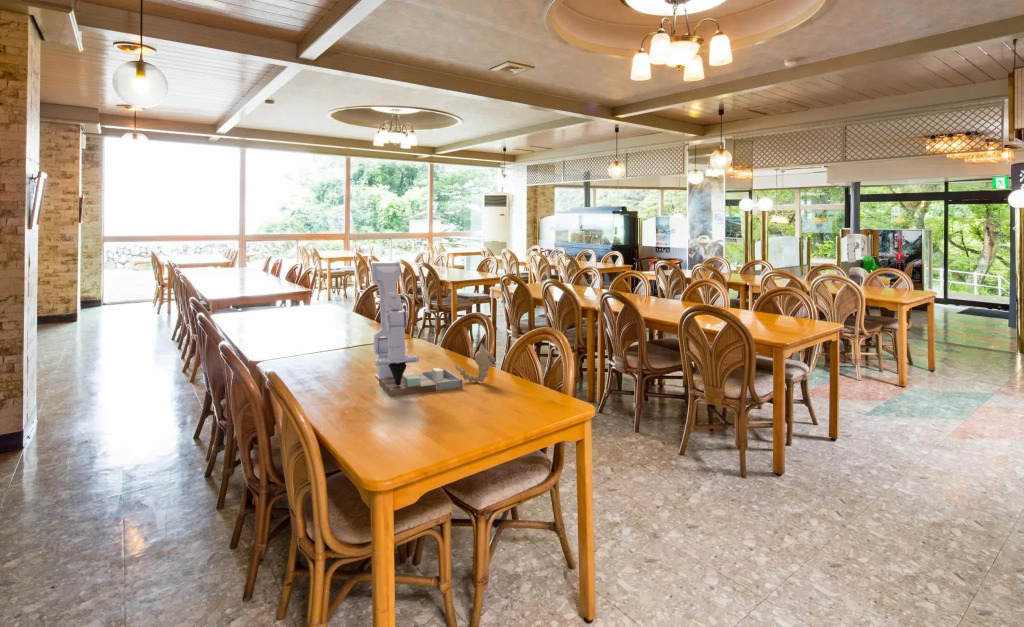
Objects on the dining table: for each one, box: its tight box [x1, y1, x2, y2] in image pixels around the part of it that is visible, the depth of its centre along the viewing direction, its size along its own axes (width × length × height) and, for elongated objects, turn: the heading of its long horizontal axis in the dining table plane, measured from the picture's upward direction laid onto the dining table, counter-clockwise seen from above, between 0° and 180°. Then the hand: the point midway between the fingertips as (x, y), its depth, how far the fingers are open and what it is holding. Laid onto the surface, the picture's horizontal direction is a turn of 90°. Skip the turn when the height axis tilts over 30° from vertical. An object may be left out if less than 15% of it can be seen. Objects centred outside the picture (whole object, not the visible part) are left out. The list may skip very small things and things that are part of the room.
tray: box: [422, 368, 463, 392], centre depth 212 cm, size 17×9×3 cm, turn 26°
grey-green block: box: [403, 374, 421, 387], centre depth 202 cm, size 4×4×3 cm
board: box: [378, 373, 437, 398], centre depth 207 cm, size 17×16×2 cm
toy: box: [455, 342, 496, 384], centre depth 213 cm, size 6×15×15 cm, turn 78°
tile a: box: [431, 367, 444, 383], centre depth 214 cm, size 4×4×3 cm
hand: (397, 384), depth 200 cm, fingers closed
